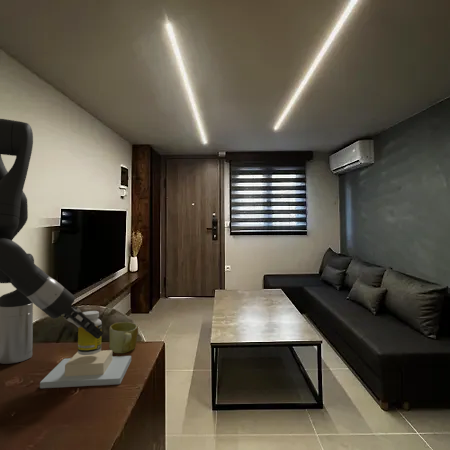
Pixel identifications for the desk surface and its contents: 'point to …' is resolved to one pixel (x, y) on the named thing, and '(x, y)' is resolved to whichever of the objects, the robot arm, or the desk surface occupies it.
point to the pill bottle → (89, 336)
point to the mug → (123, 337)
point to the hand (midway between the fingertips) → (95, 333)
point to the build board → (87, 379)
